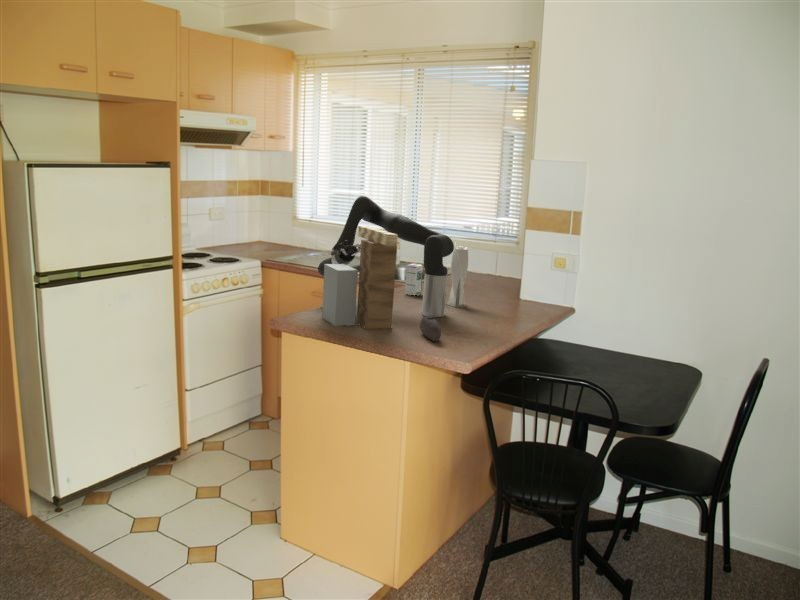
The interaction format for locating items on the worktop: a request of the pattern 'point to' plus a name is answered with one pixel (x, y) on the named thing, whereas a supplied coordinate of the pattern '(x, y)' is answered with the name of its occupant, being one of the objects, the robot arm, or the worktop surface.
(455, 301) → the skyscraper
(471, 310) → the worktop surface
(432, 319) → the perforated stone tool
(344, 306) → the grey block
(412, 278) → the syrup box
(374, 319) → the tall wooden tower
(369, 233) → the birch beam
